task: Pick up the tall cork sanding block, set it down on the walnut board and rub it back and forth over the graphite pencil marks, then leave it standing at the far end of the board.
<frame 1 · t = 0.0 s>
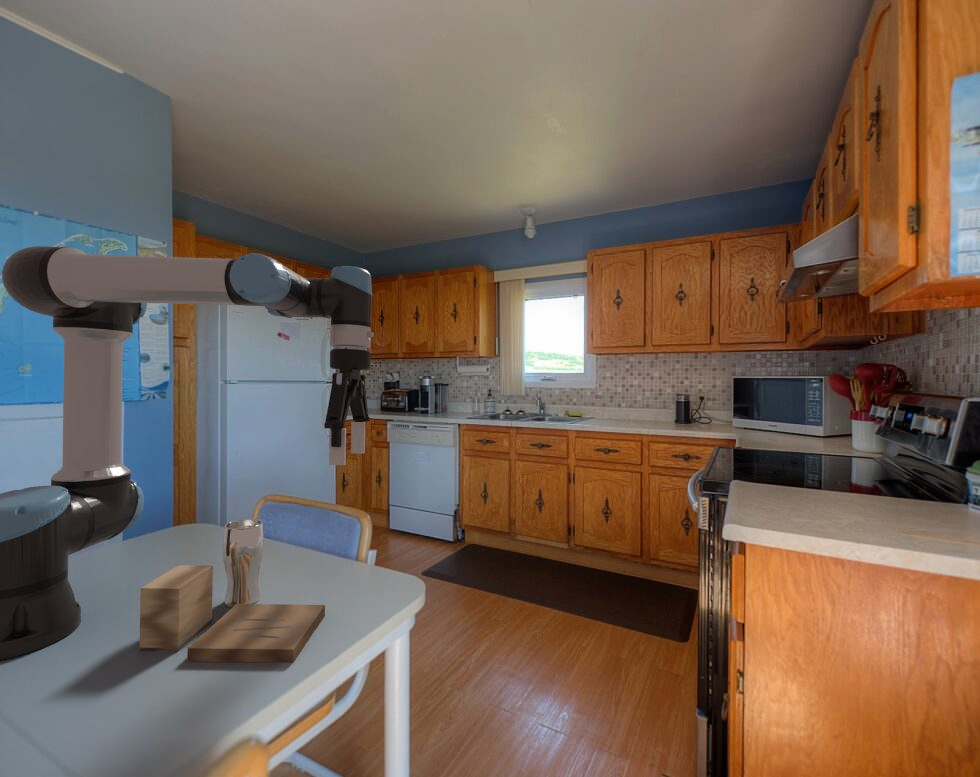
hand: (348, 458, 89), 28 cm above the table, fingers open, 13 cm apart
beer glass: (242, 601, 89), on the table
board: (262, 636, 77), on the table
block: (177, 635, 76), on the table
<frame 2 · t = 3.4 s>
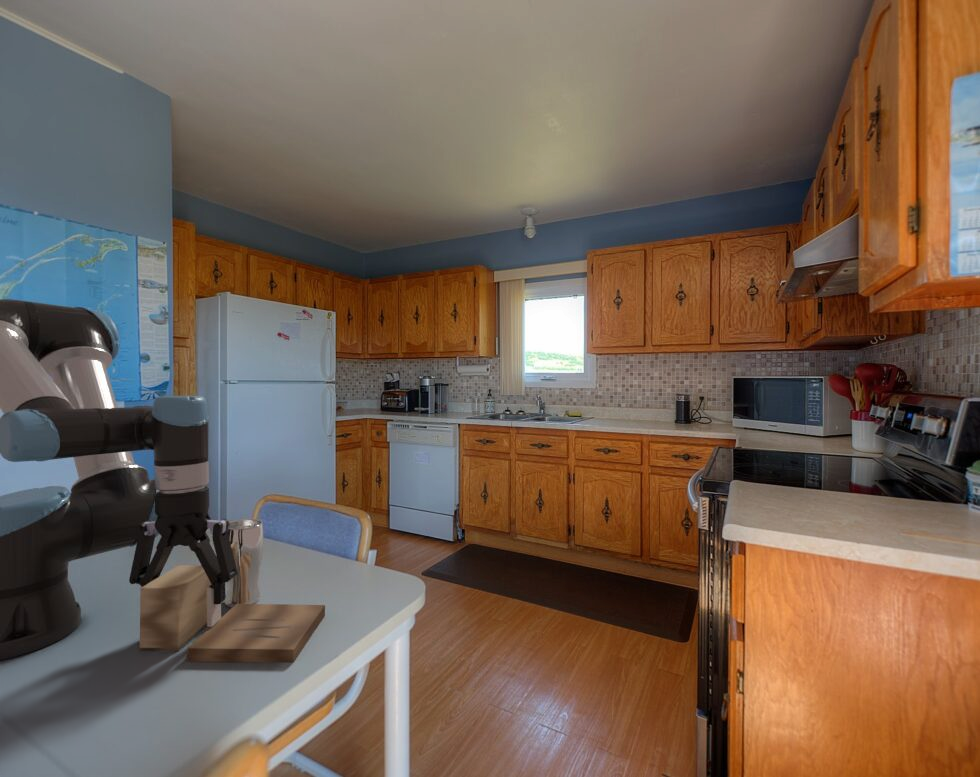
hand: (185, 623, 76), 2 cm above the table, fingers open, 9 cm apart
nothing on the table moved.
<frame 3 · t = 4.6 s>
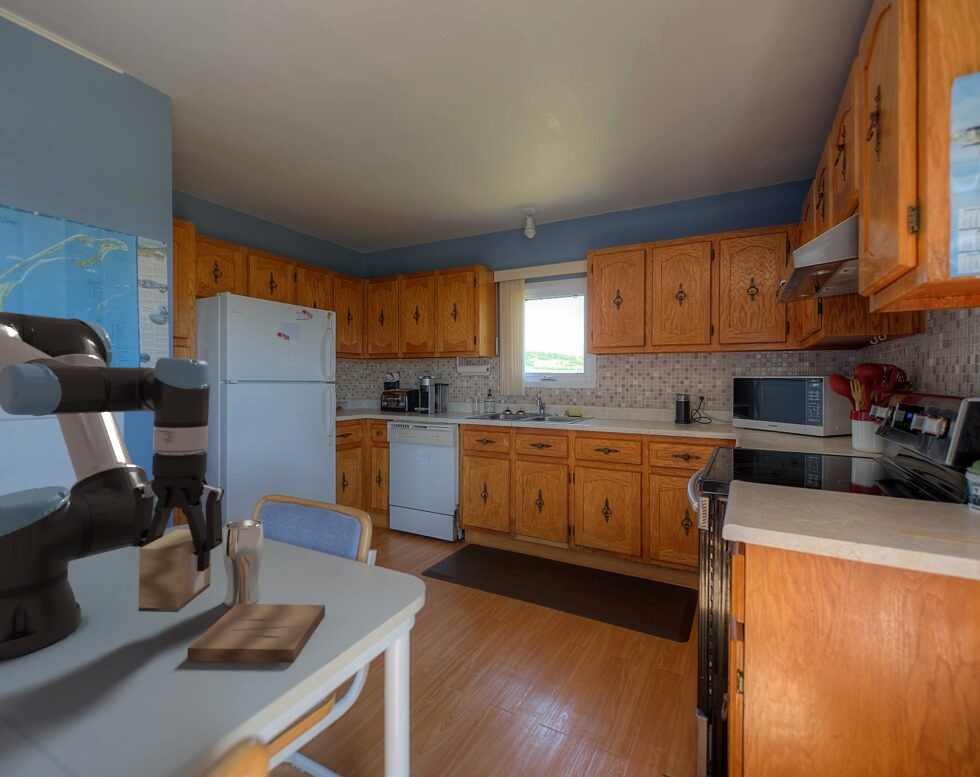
hand: (176, 588, 77), 8 cm above the table, fingers closed on block, 6 cm apart
block: (176, 597, 77), point 6 cm above the table, touching gripper
everything else where it was.
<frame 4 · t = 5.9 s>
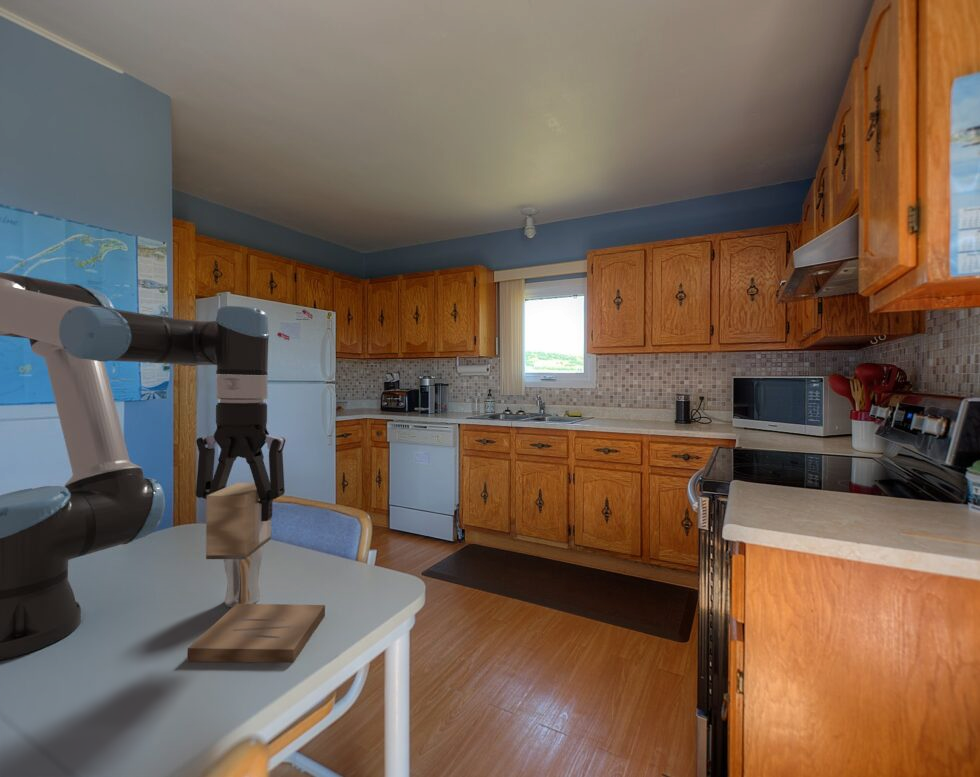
hand: (240, 539, 76), 16 cm above the table, fingers closed on block, 6 cm apart
block: (240, 548, 76), point 15 cm above the table, touching gripper
everything else where it was.
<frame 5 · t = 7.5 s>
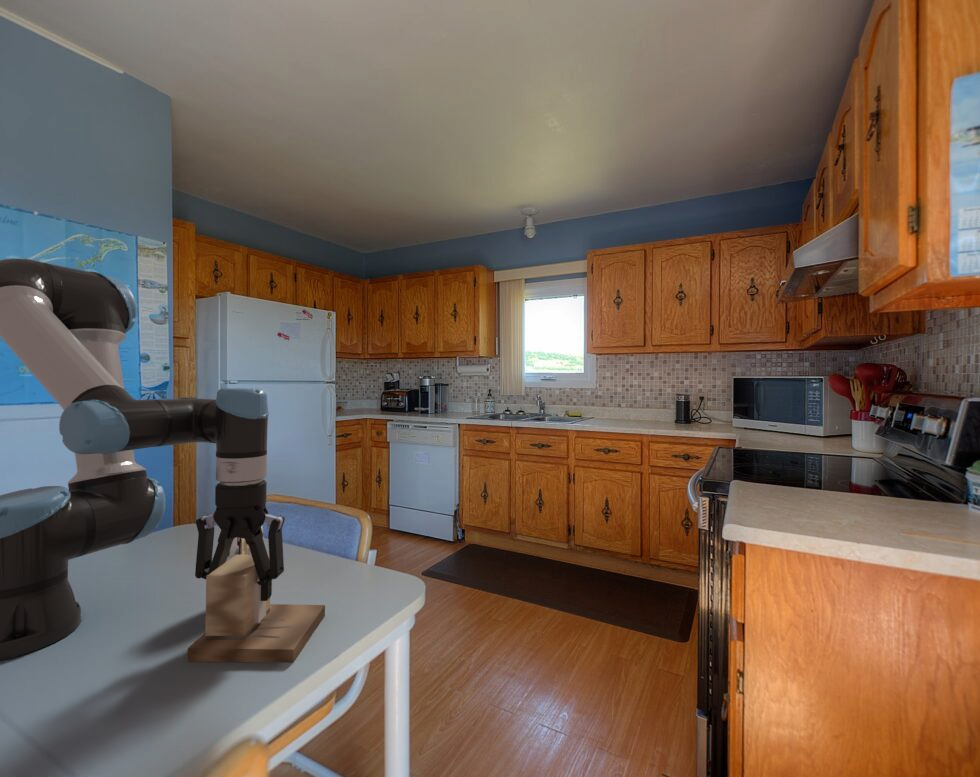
hand: (239, 618, 76), 3 cm above the table, fingers closed on block, 6 cm apart
block: (239, 624, 76), point 2 cm above the table, touching board, gripper
everything else where it was.
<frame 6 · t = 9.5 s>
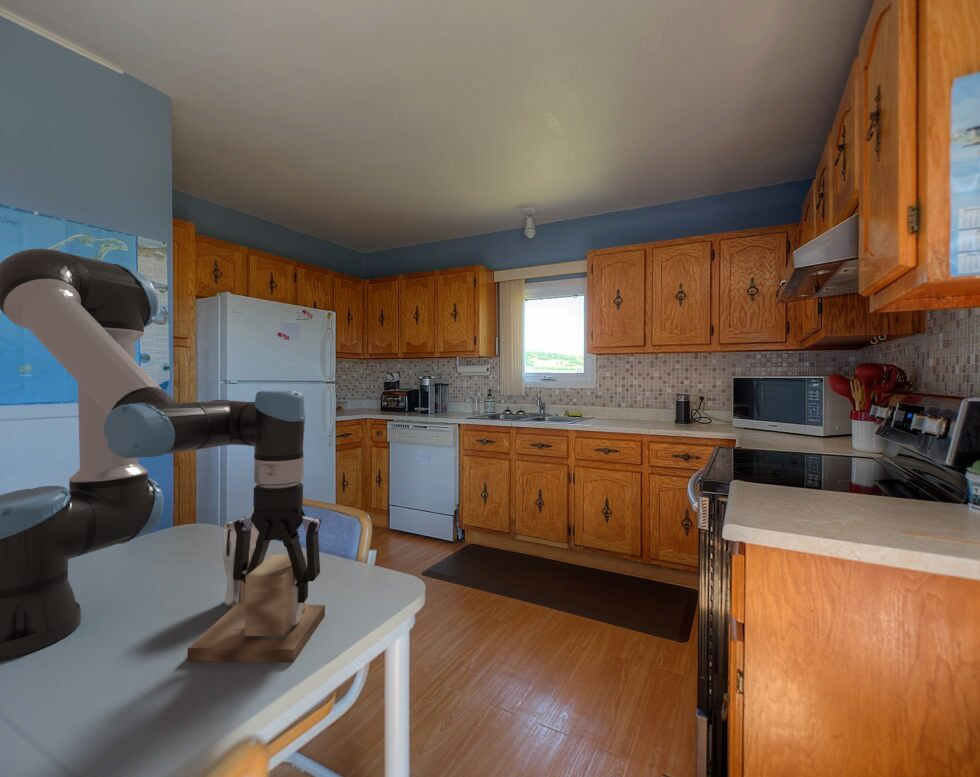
hand: (276, 620, 77), 3 cm above the table, fingers closed on block, 6 cm apart
block: (276, 624, 77), point 2 cm above the table, touching gripper
everything else where it was.
when the fingers open (3 cm above the table, at t = 12.0 s): block stays where it is, resting on board.
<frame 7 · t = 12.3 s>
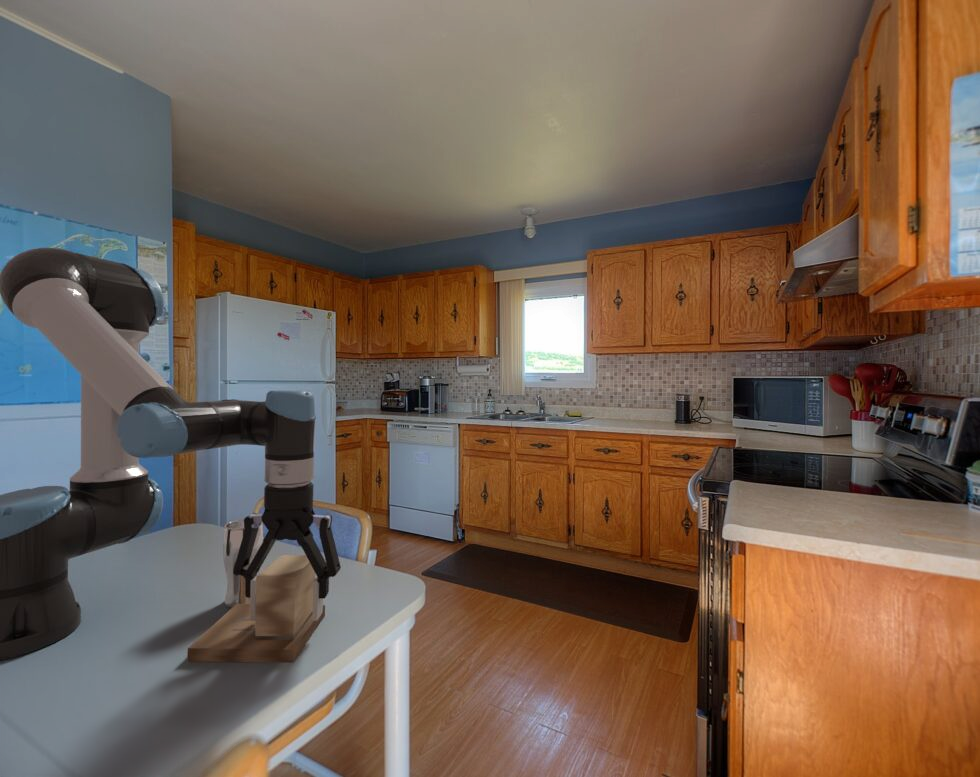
hand: (286, 616, 77), 3 cm above the table, fingers open, 9 cm apart
block: (286, 624, 77), point 2 cm above the table, touching board
everything else where it was.
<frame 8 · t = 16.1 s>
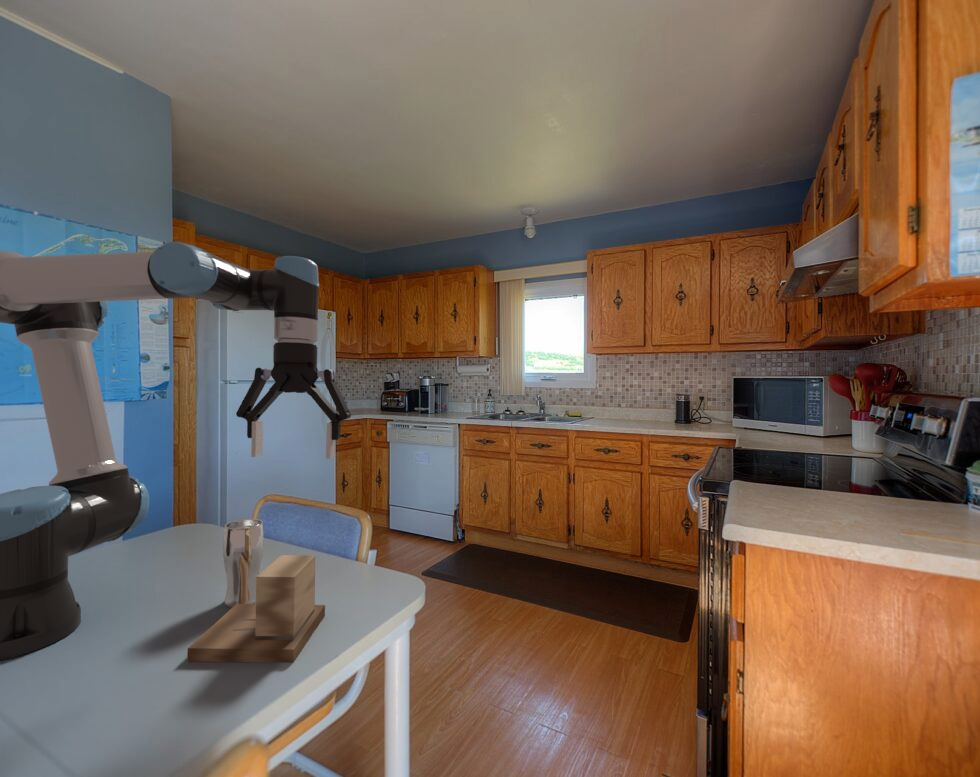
hand: (293, 456, 85), 29 cm above the table, fingers open, 13 cm apart
nothing on the table moved.
at the end: block inside the target area (0.0 cm from its centre), point 2.0 cm above the table; block touching board; the gripper is holding nothing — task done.
